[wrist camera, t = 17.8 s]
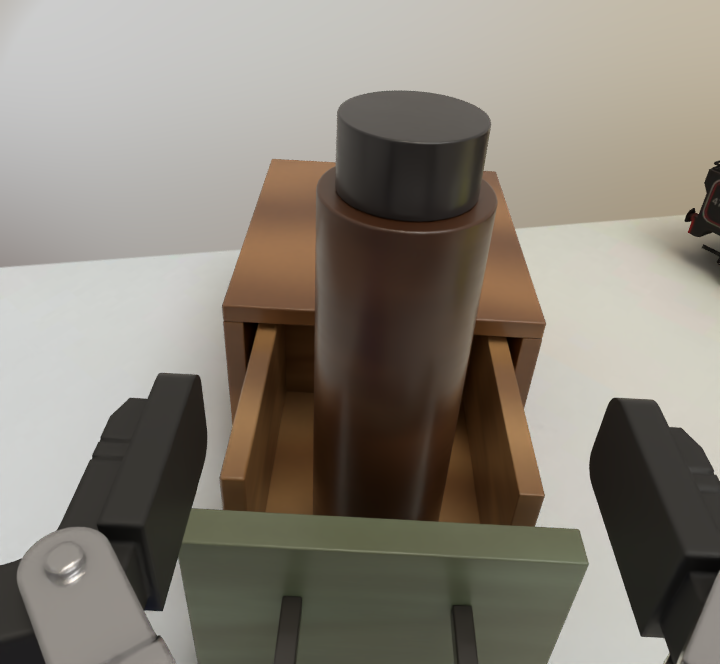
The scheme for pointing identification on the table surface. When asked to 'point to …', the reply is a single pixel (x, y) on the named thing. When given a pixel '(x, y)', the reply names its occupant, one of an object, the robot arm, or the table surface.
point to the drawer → (376, 538)
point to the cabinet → (297, 275)
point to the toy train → (708, 210)
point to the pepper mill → (396, 299)
